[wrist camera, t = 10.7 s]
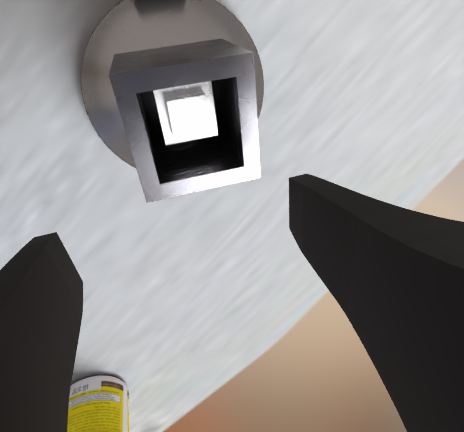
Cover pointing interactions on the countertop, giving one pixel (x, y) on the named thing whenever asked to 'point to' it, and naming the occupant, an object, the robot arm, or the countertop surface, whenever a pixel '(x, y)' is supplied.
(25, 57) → the countertop surface
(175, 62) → the square metal tube
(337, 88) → the countertop surface
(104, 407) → the supplement bottle
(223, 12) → the ratchet
